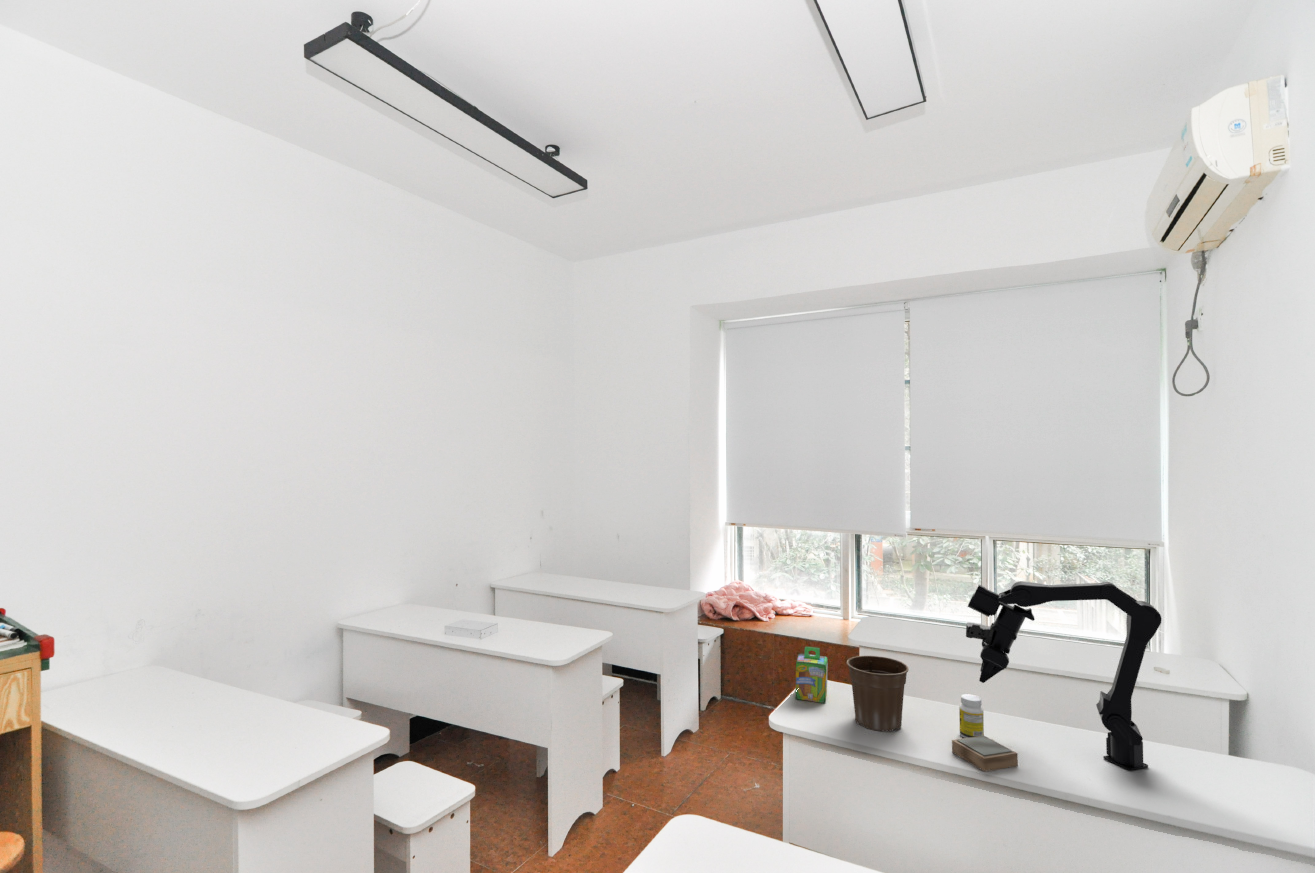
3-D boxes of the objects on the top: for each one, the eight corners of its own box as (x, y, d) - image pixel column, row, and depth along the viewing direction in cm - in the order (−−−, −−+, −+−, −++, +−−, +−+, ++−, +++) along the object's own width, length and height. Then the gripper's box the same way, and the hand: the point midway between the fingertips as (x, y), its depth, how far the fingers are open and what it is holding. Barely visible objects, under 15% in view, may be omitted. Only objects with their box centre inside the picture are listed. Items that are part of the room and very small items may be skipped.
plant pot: (850, 732, 162) (850, 671, 163) (843, 709, 178) (843, 653, 179) (915, 738, 159) (914, 675, 160) (901, 713, 175) (901, 657, 176)
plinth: (1017, 765, 145) (1017, 751, 145) (984, 771, 142) (984, 757, 142) (983, 747, 155) (983, 734, 155) (952, 752, 152) (952, 738, 152)
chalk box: (795, 699, 185) (795, 650, 186) (797, 689, 193) (798, 642, 194) (826, 703, 182) (826, 653, 183) (827, 693, 191) (828, 645, 191)
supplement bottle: (962, 729, 165) (962, 691, 166) (986, 735, 161) (985, 696, 162) (957, 736, 161) (956, 697, 161) (981, 743, 157) (980, 703, 157)
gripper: (976, 604, 173) (953, 651, 176) (974, 617, 157) (948, 669, 159) (1018, 624, 168) (994, 673, 170) (1020, 640, 152) (993, 694, 154)
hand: (981, 676), depth 164 cm, fingers open, 9 cm apart
